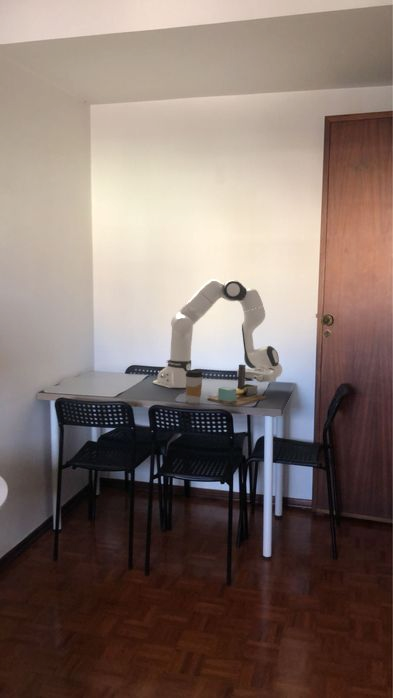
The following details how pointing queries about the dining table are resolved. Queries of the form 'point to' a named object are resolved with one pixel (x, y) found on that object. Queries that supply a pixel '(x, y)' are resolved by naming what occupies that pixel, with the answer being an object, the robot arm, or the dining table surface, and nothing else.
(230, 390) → the mint green block
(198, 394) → the coffee cup
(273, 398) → the dining table surface
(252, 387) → the sleeve
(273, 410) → the dining table surface
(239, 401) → the board
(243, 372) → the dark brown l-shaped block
